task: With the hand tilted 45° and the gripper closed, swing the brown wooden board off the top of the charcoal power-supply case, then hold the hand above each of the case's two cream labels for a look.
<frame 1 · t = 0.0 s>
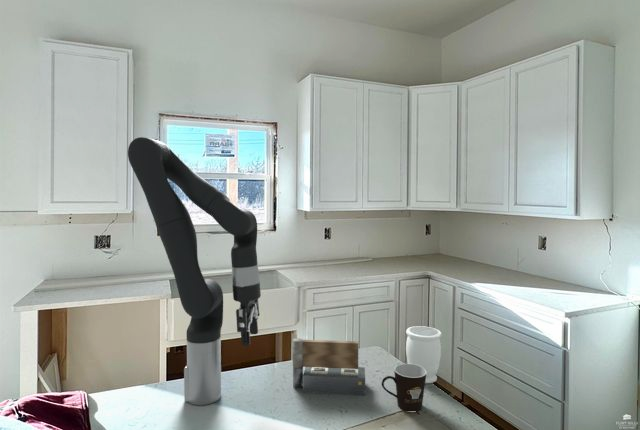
hand: (250, 339, 109), 17 cm above the countertop, tool pointing down, fingers open, 8 cm apart
swing post: (298, 385, 118), on the countertop
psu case: (334, 387, 117), on the countertop
brown wooden board: (325, 354, 116), point 10 cm above the countertop, hinge at 0.0°
jar: (422, 378, 123), on the countertop
coffee mug: (404, 405, 107), on the countertop
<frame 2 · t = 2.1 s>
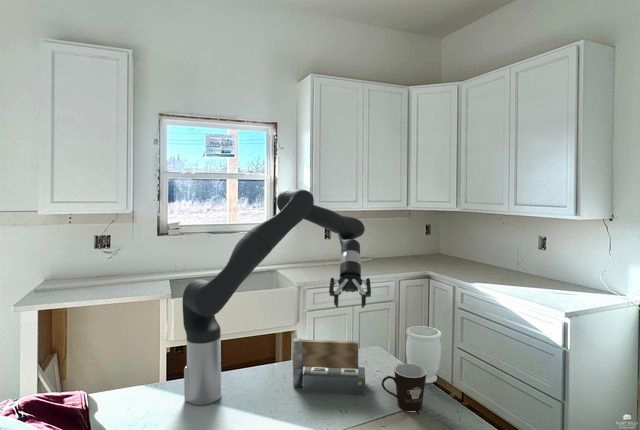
hand: (349, 306, 131), 20 cm above the countertop, tool tilted 45°, fingers open, 8 cm apart
nothing on the countertop moved.
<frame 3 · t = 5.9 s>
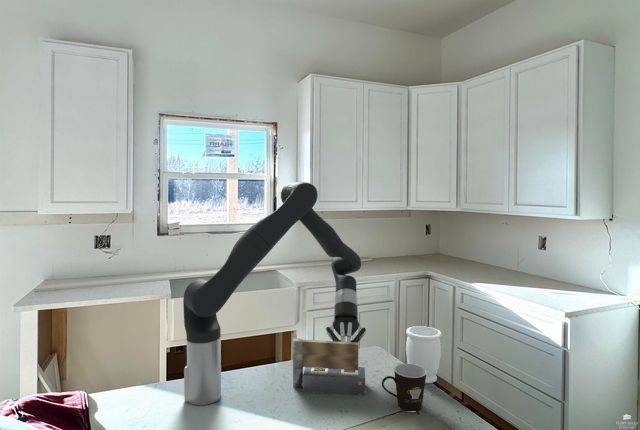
hand: (345, 358, 117), 9 cm above the countertop, tool tilted 45°, fingers closed
brown wooden board: (325, 354, 116), point 10 cm above the countertop, hinge at -2.9°, touching gripper
everything else where it was.
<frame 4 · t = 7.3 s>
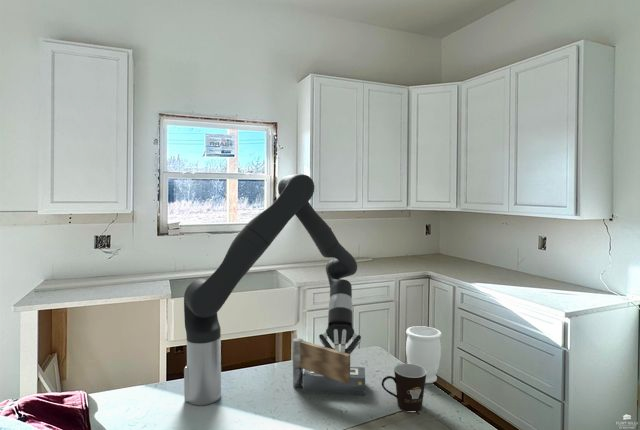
hand: (339, 368, 110), 9 cm above the countertop, tool tilted 45°, fingers closed
brown wooden board: (319, 359, 112), point 10 cm above the countertop, hinge at -31.8°, touching gripper
everything else where it was.
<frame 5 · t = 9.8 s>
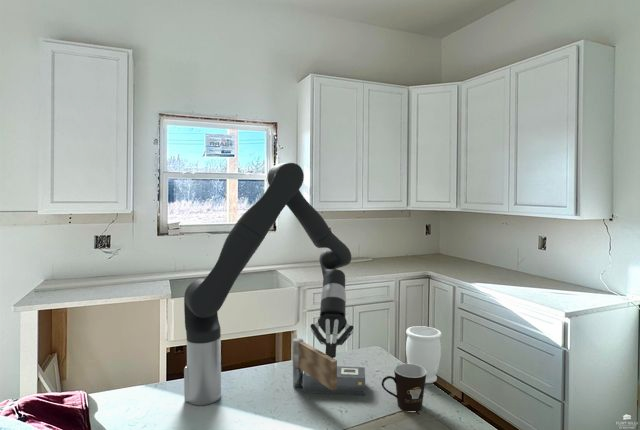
hand: (330, 358, 107), 13 cm above the countertop, tool tilted 45°, fingers closed
brown wooden board: (313, 362, 111), point 10 cm above the countertop, hinge at -49.6°
everything else where it was.
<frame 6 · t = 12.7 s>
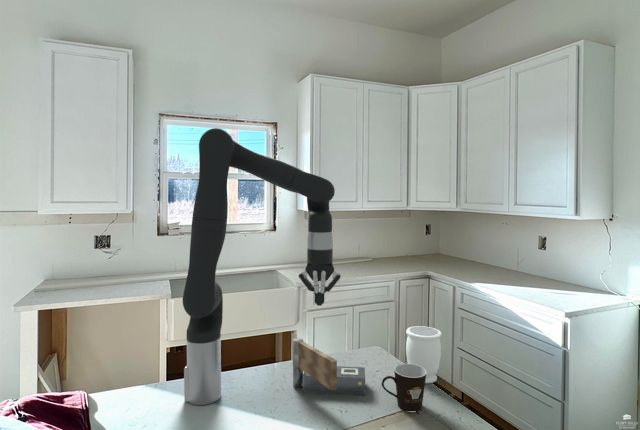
hand: (319, 304, 116), 25 cm above the countertop, tool pointing down, fingers closed
nothing on the countertop moved.
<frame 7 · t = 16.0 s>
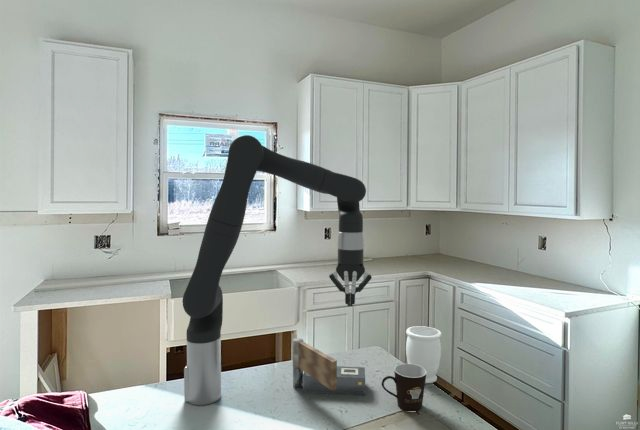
hand: (350, 305, 115), 25 cm above the countertop, tool pointing down, fingers closed
nothing on the countertop moved.
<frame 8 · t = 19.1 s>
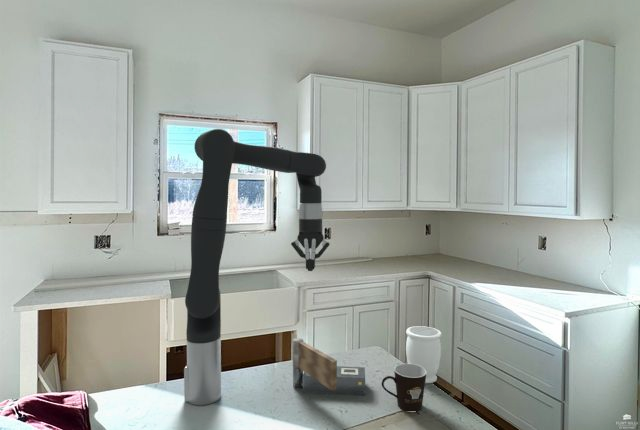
hand: (310, 270, 127), 33 cm above the countertop, tool pointing down, fingers closed
nothing on the countertop moved.
at the end: brown wooden board at -50° (first picture: +0°) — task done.
